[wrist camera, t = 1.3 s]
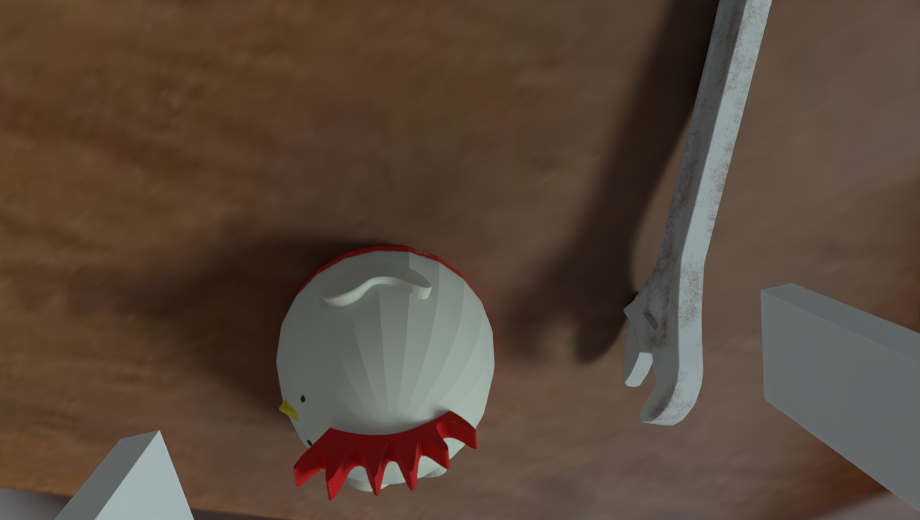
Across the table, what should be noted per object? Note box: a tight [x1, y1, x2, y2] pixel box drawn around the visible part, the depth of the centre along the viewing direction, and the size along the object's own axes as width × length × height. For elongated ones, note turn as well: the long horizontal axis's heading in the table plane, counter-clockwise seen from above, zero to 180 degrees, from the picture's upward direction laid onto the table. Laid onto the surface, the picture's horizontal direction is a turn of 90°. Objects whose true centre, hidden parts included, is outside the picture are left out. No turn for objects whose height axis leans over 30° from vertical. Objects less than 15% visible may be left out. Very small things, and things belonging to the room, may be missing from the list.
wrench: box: [623, 0, 772, 425], centre depth 34 cm, size 8×2×30 cm
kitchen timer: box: [276, 245, 494, 500], centre depth 30 cm, size 14×14×15 cm
